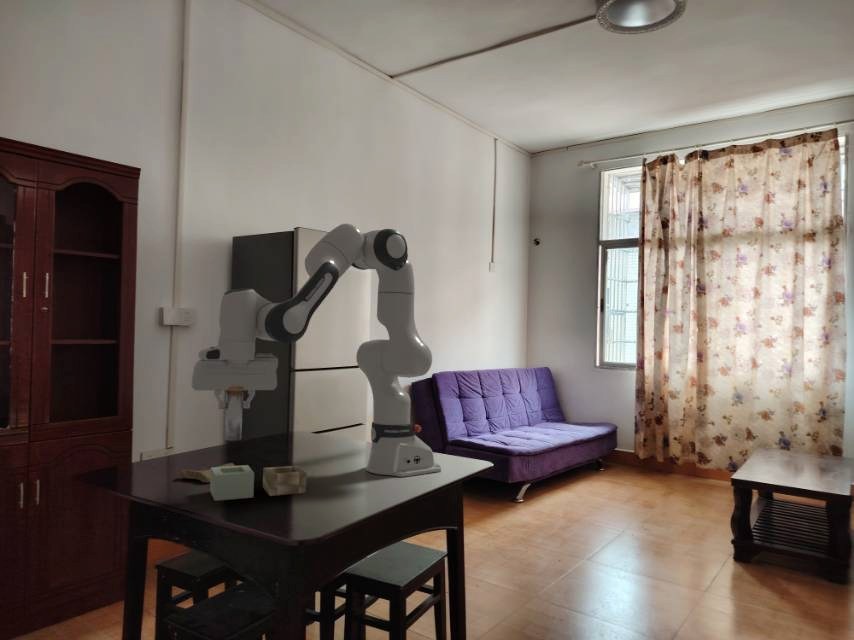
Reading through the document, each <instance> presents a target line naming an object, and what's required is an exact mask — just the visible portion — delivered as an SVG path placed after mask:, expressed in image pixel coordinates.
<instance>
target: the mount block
mask: <svg viewBox="0 0 854 640" xmlns="http://www.w3.org/2000/svg"><path fill="white" fill-rule="evenodd" d="M262 470H263V472H262V488H263V489H264V491H265V492H266V493H267V494H268V495H269V496H270V497H272V496H282V495H294V494H295V495H296V494H305V493H306V491H307V472H306V471H305V470H304V469H302V468H301V467H300V466H299V465H289V466H288V465H287V466H273V467H272V466H271V467H263V469H262Z"/></svg>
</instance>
